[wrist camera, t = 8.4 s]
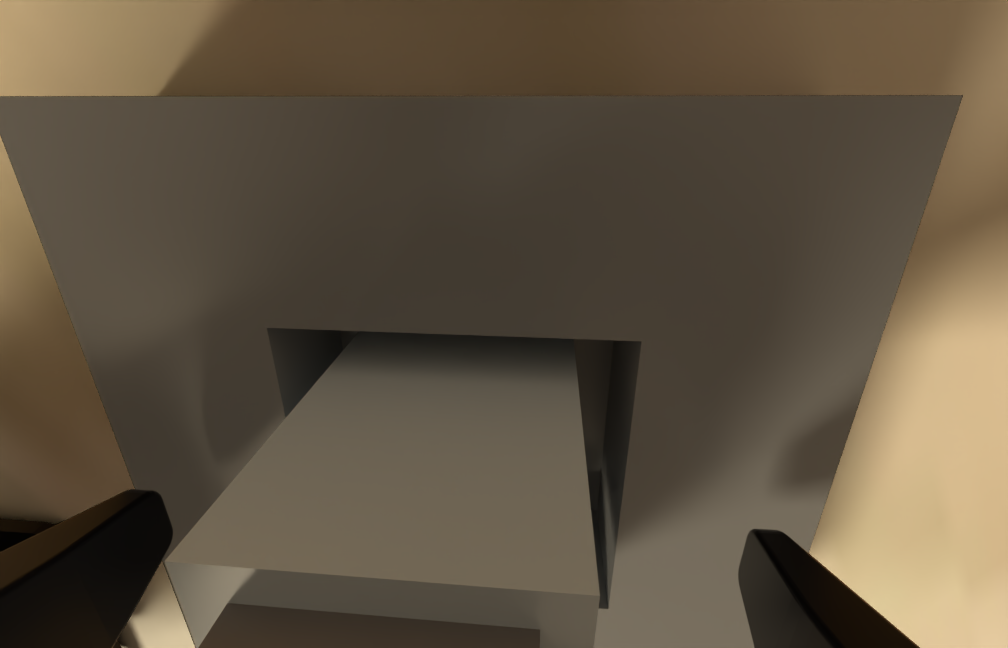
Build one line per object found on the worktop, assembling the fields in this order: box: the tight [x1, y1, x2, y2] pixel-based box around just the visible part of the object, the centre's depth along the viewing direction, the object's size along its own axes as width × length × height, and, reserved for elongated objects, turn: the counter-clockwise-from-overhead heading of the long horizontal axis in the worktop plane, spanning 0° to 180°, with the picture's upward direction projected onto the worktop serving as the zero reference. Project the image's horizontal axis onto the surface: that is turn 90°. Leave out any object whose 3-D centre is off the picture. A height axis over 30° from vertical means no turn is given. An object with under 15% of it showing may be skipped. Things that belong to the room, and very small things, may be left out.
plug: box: [164, 331, 600, 648], centre depth 7 cm, size 4×4×8 cm
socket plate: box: [0, 95, 963, 648], centre depth 10 cm, size 12×12×3 cm
